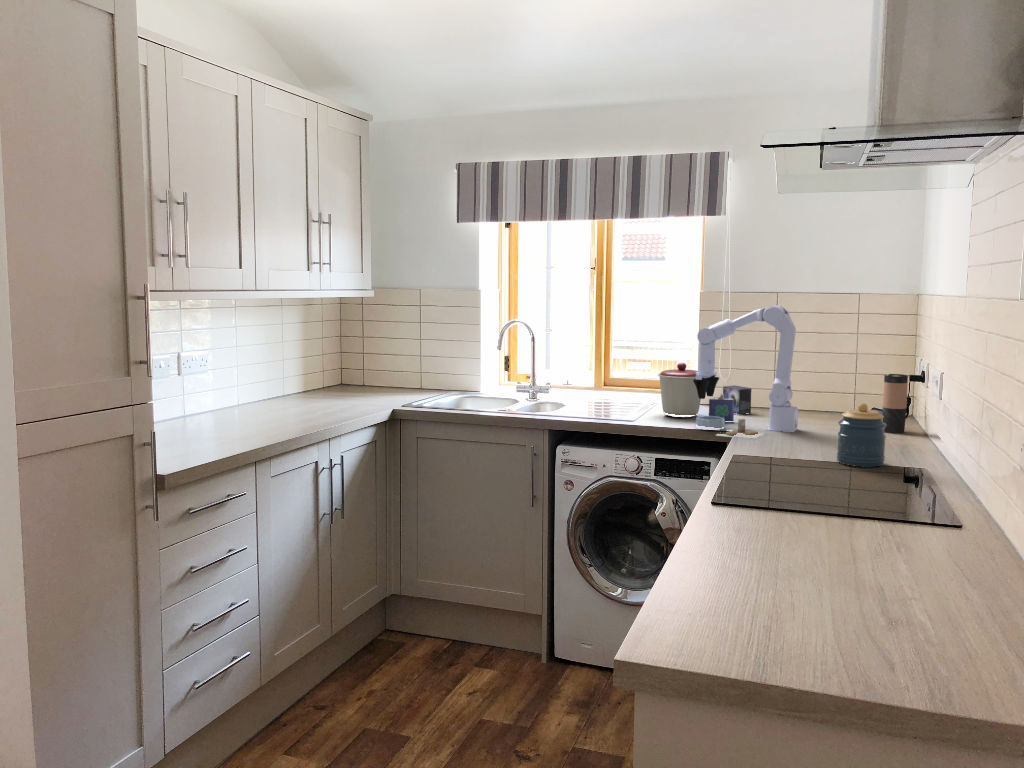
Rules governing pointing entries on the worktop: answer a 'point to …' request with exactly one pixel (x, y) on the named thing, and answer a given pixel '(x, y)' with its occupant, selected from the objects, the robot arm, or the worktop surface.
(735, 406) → the small box
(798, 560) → the worktop surface
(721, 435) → the mat
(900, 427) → the travel mug
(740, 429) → the lid
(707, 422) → the bowl
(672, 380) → the canister
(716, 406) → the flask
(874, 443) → the canister
